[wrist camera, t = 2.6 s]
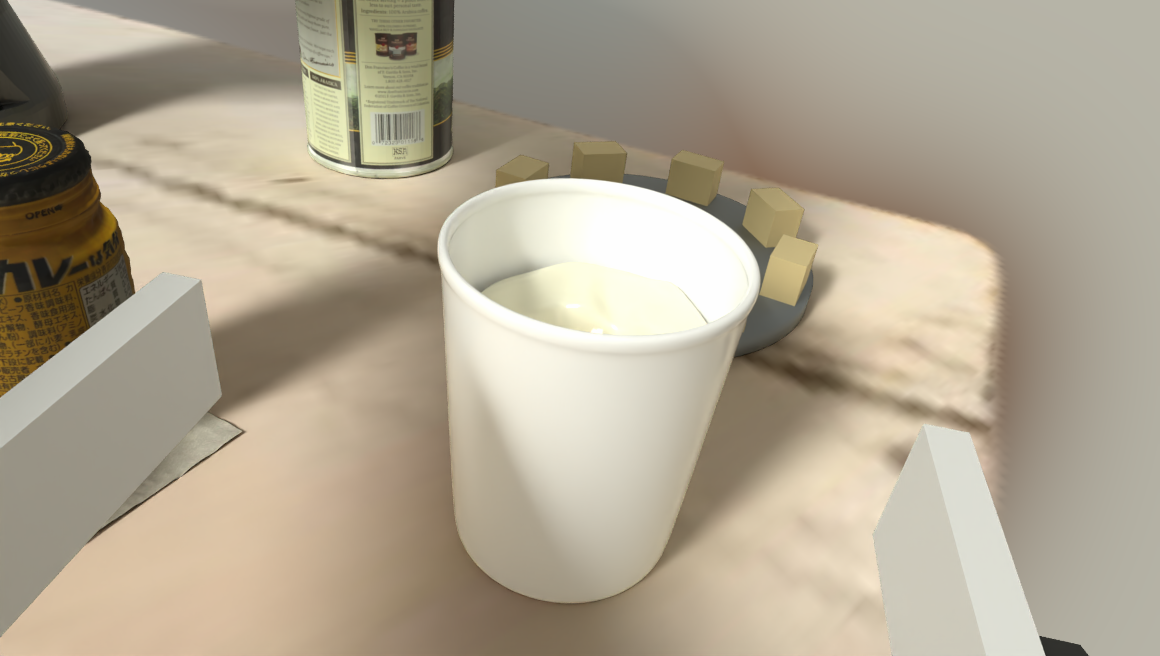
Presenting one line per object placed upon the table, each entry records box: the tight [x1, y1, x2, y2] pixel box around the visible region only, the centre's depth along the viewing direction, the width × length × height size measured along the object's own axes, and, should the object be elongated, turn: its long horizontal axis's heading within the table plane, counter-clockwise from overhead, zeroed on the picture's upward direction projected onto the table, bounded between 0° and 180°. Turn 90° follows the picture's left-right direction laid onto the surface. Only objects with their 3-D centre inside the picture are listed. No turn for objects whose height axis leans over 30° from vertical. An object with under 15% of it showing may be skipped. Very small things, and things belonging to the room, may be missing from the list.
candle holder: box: [437, 178, 761, 603], centre depth 28 cm, size 10×10×12 cm
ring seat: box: [495, 141, 818, 357], centre depth 47 cm, size 20×20×4 cm
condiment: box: [0, 122, 242, 529], centre depth 28 cm, size 7×8×12 cm
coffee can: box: [295, 0, 454, 178], centre depth 54 cm, size 10×10×14 cm
